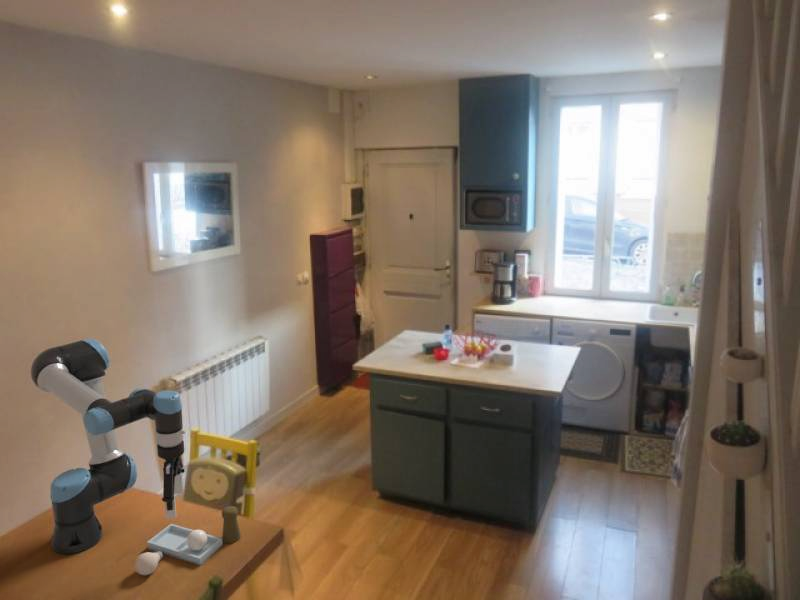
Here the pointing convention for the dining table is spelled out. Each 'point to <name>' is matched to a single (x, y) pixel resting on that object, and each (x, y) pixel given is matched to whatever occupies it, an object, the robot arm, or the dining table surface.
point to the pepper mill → (230, 525)
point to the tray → (182, 544)
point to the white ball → (197, 540)
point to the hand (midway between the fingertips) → (175, 505)
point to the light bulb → (147, 562)
